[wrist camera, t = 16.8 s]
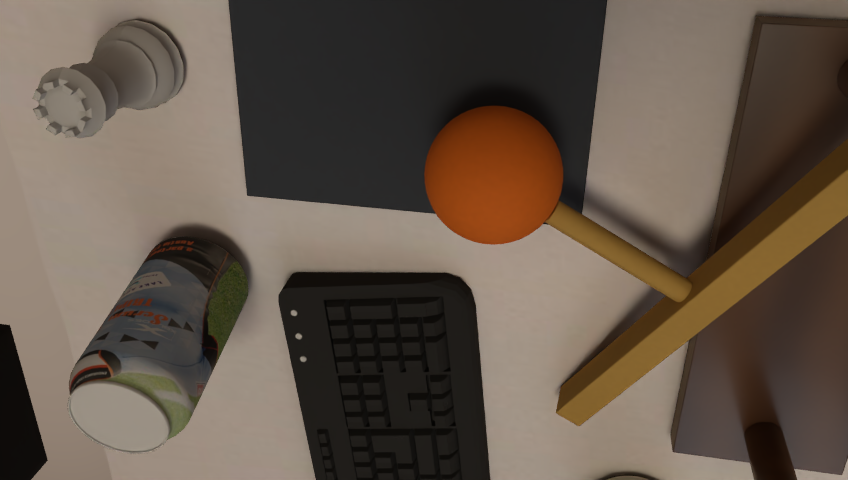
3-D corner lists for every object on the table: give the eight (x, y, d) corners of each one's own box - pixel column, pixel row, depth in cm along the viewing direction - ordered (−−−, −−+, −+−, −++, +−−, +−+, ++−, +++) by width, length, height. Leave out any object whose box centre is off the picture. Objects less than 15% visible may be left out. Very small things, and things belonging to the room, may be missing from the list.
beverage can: (214, 208, 46) (101, 325, 35) (286, 309, 48) (200, 448, 38) (134, 250, 48) (7, 371, 38) (207, 344, 50) (106, 483, 40)
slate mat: (608, -16, 36) (609, -14, 36) (580, 223, 42) (580, 227, 41) (228, -35, 39) (224, -33, 39) (250, 192, 45) (246, 196, 44)
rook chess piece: (99, 17, 42) (-1, 58, 35) (180, 18, 41) (95, 60, 34) (116, 101, 44) (26, 155, 37) (194, 104, 43) (116, 160, 36)
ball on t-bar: (579, -92, 32) (891, 113, 34) (364, 240, 47) (588, 371, 49) (554, -32, 28) (917, 203, 29) (323, 315, 42) (573, 459, 44)
